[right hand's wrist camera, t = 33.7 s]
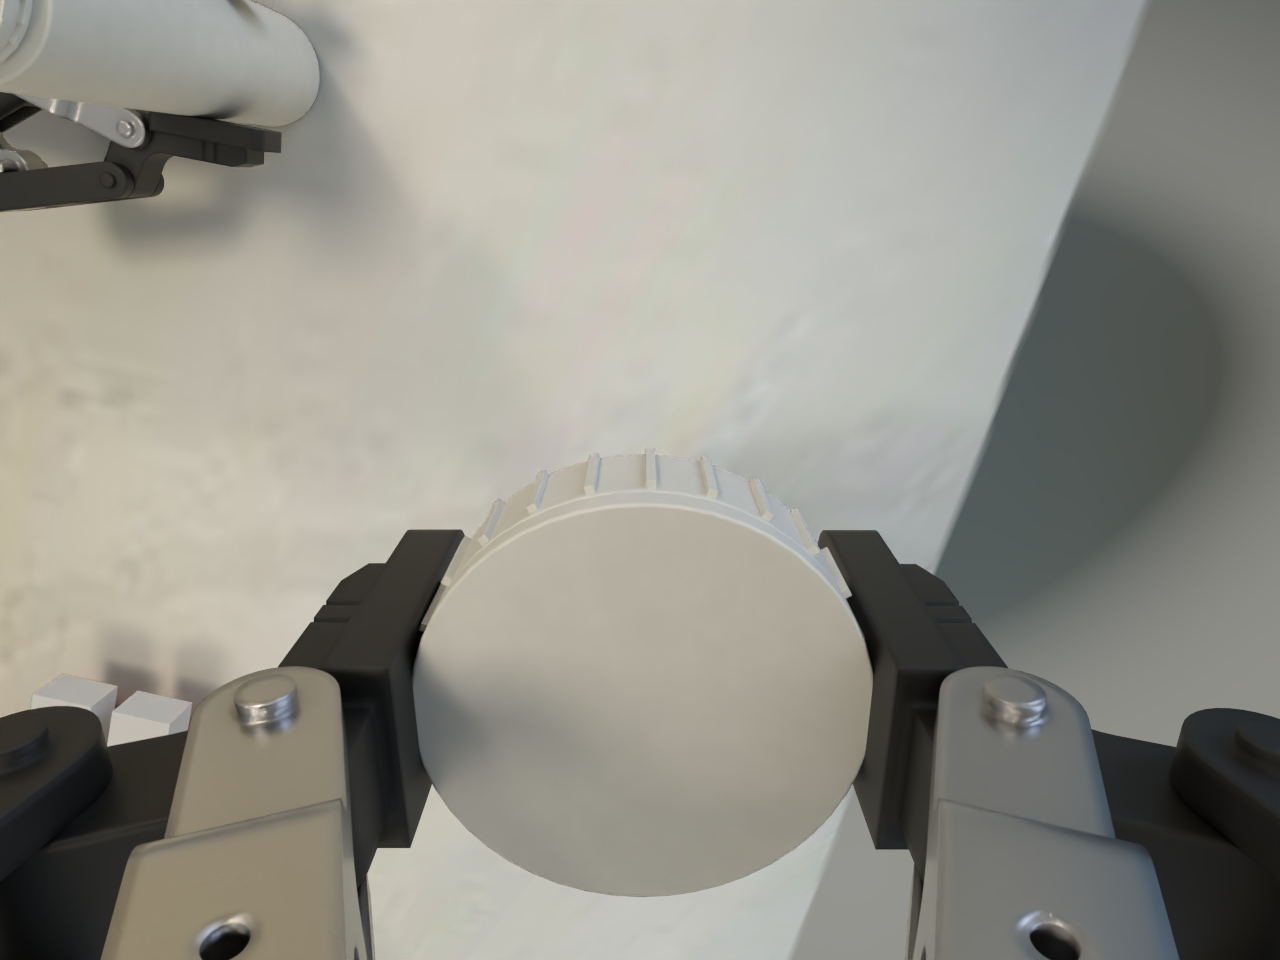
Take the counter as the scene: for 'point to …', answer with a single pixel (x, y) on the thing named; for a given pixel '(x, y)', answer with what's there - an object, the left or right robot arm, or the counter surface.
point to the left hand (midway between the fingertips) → (272, 63)
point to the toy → (127, 721)
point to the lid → (642, 678)
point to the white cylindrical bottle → (161, 57)
